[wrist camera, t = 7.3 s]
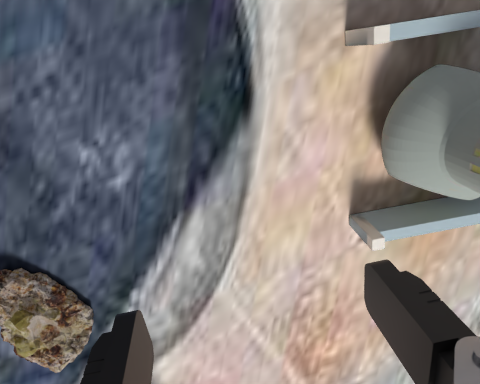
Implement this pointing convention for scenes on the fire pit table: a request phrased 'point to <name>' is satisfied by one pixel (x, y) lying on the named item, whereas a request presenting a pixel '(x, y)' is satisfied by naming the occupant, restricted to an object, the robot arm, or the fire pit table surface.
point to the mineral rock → (42, 318)
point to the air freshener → (436, 133)
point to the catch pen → (427, 212)
